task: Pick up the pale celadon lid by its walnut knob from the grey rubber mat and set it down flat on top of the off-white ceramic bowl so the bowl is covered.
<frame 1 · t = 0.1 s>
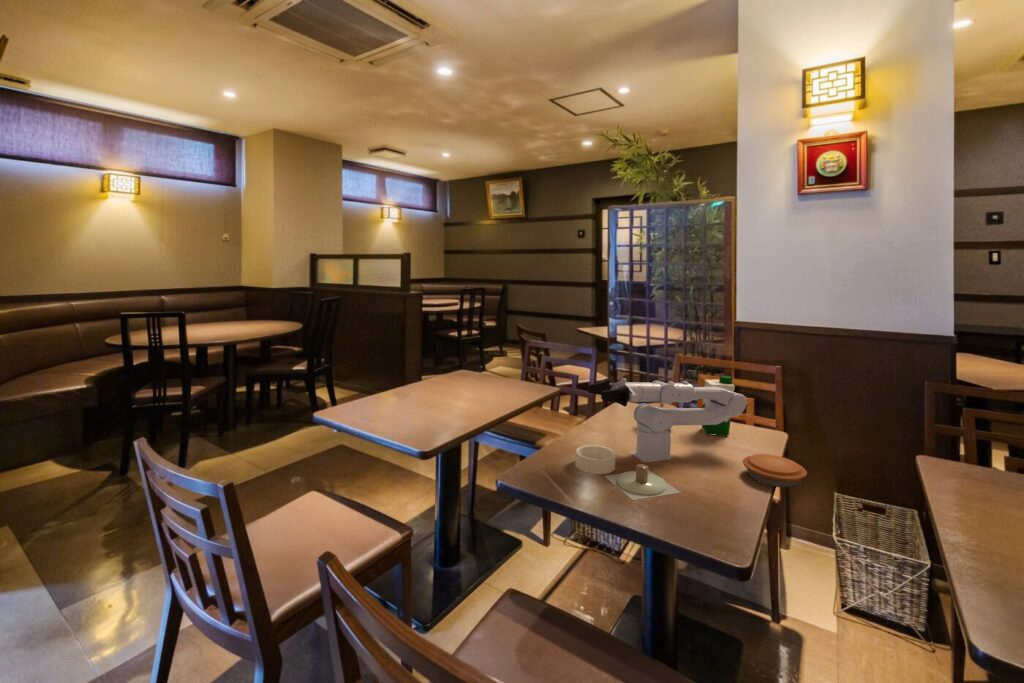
hand: (595, 392, 135), 22 cm above the table, tool horizontal, fingers open, 7 cm apart
pie: (772, 479, 132), on the table
lid: (641, 484, 126), point 1 cm above the table, touching mat
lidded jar: (660, 428, 172), on the table
milk carton: (714, 432, 168), on the table
mat: (641, 486, 126), on the table
bowl: (595, 467, 137), on the table
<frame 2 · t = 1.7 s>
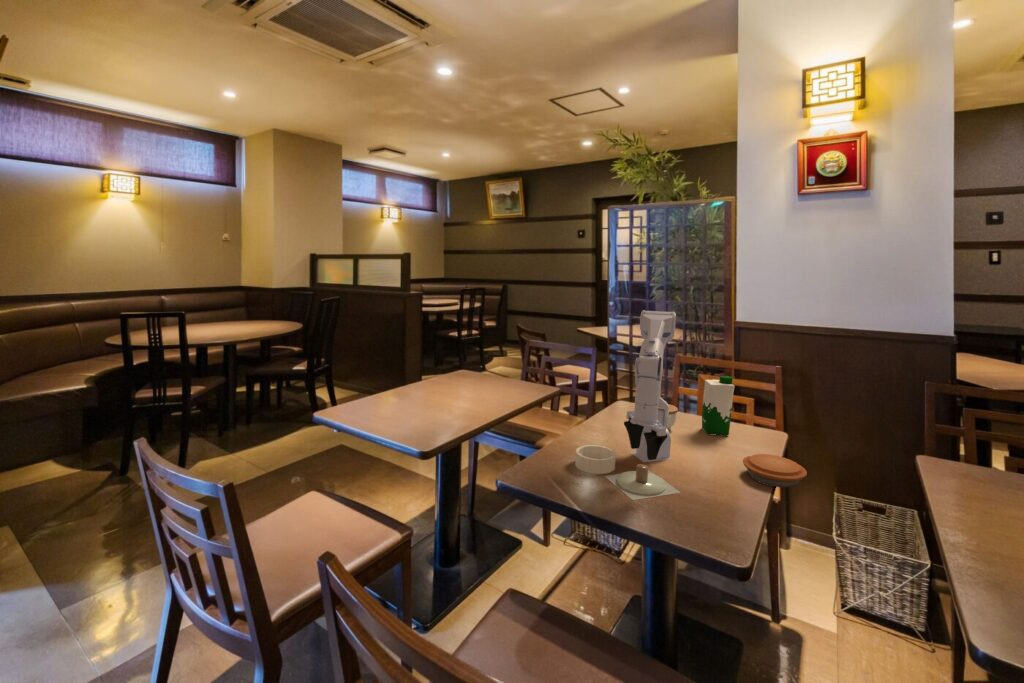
hand: (643, 453, 124), 9 cm above the table, tool pointing down, fingers open, 7 cm apart
nothing on the table moved.
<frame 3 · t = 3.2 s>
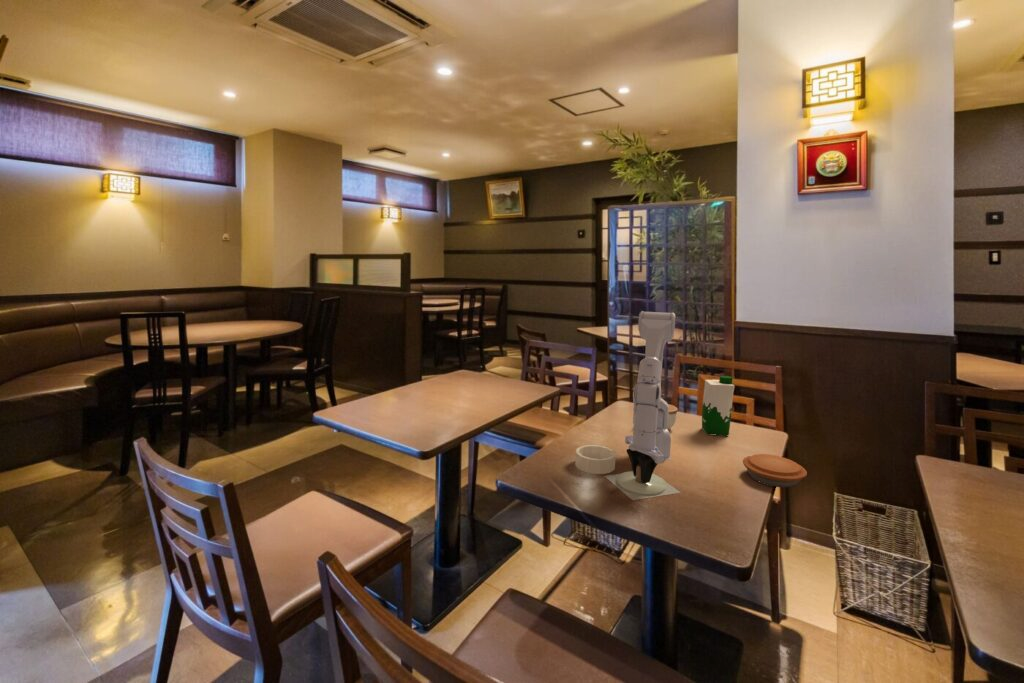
hand: (641, 478, 125), 2 cm above the table, tool pointing down, fingers closed on lid, 3 cm apart
lid: (641, 483, 126), point 1 cm above the table, touching gripper, mat
everything else where it was.
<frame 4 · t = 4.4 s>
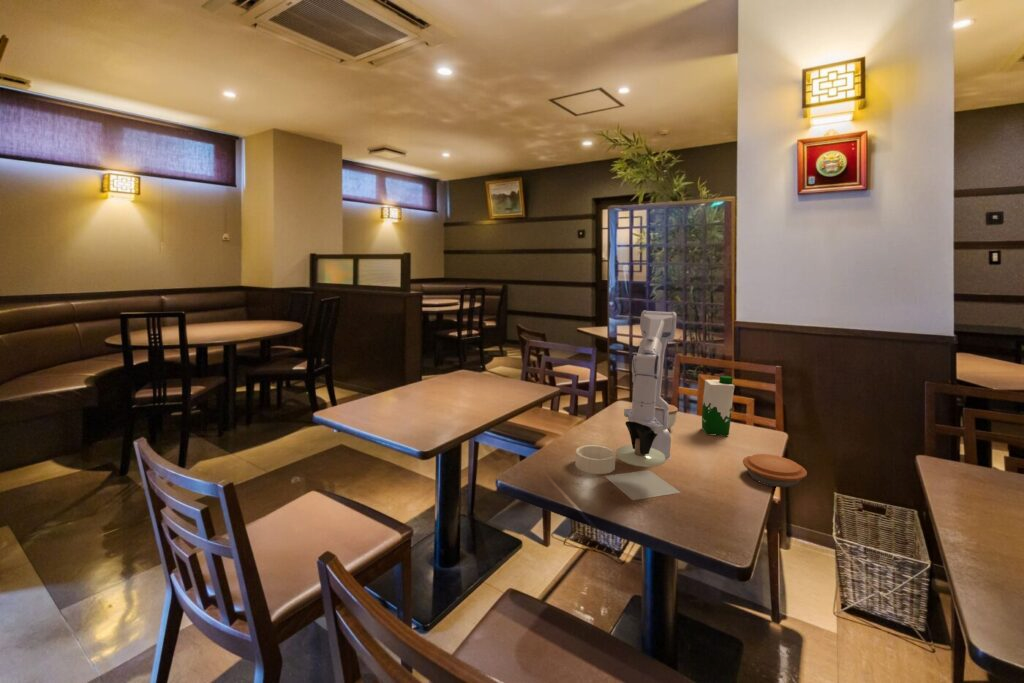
hand: (640, 451, 125), 9 cm above the table, tool pointing down, fingers closed on lid, 3 cm apart
lid: (640, 456, 125), point 8 cm above the table, touching gripper
everything else where it was.
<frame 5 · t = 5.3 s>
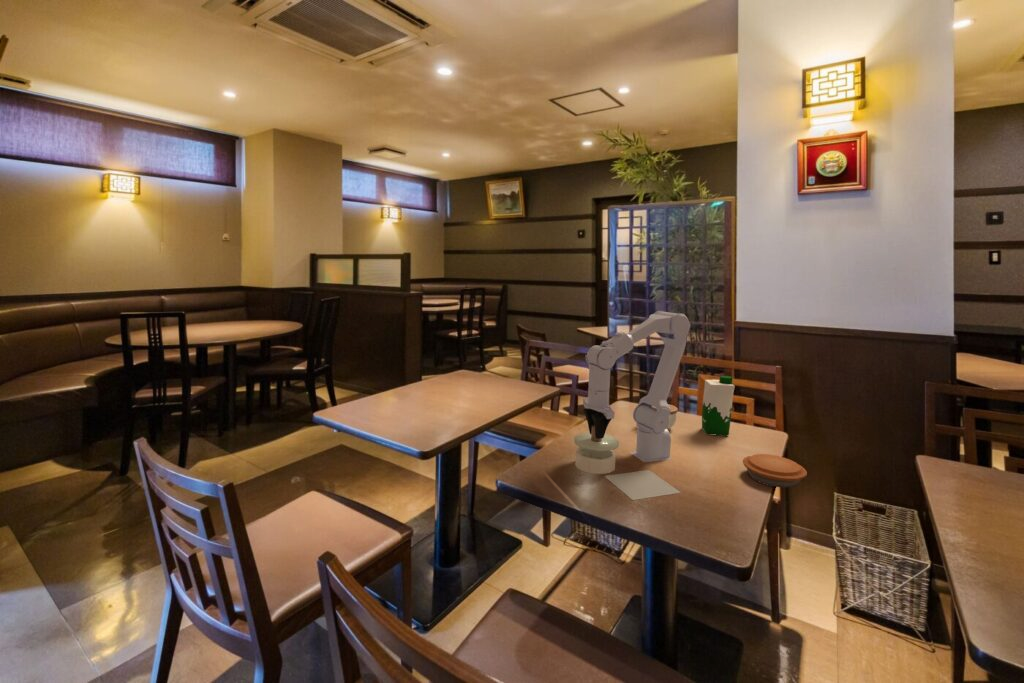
hand: (596, 435, 135), 9 cm above the table, tool pointing down, fingers closed on lid, 3 cm apart
lid: (596, 442, 136), point 7 cm above the table, touching gripper
everything else where it was.
when the fingers open (7 cm above the table, at t = 6.0 s): lid stays where it is, resting on bowl.
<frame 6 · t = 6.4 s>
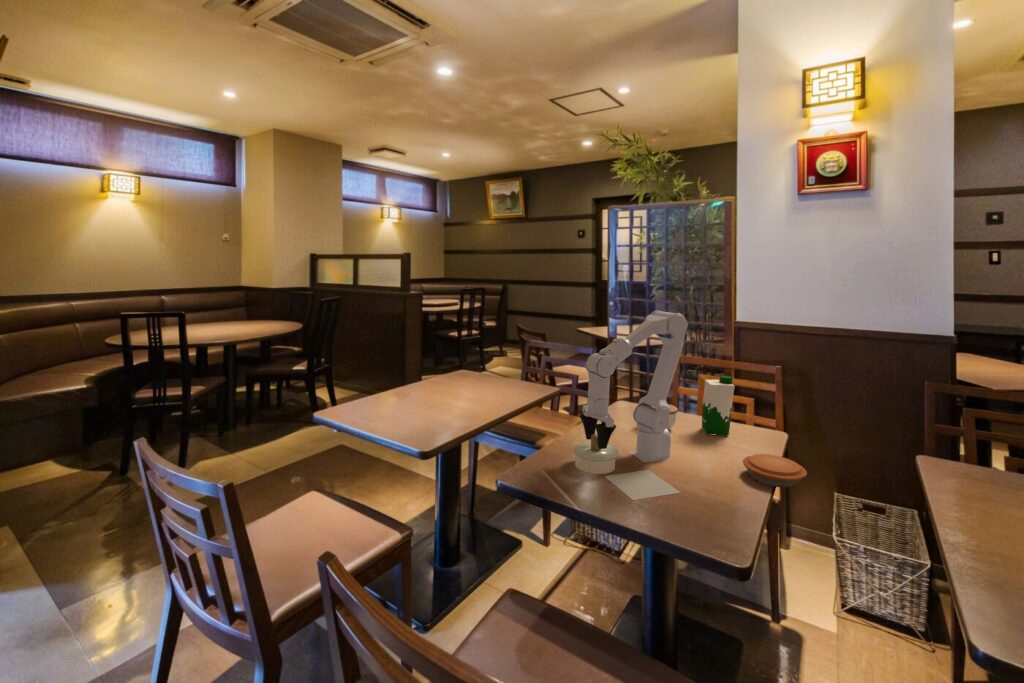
hand: (596, 443, 136), 7 cm above the table, tool pointing down, fingers open, 7 cm apart
lid: (595, 452, 136), point 4 cm above the table, touching bowl
everything else where it was.
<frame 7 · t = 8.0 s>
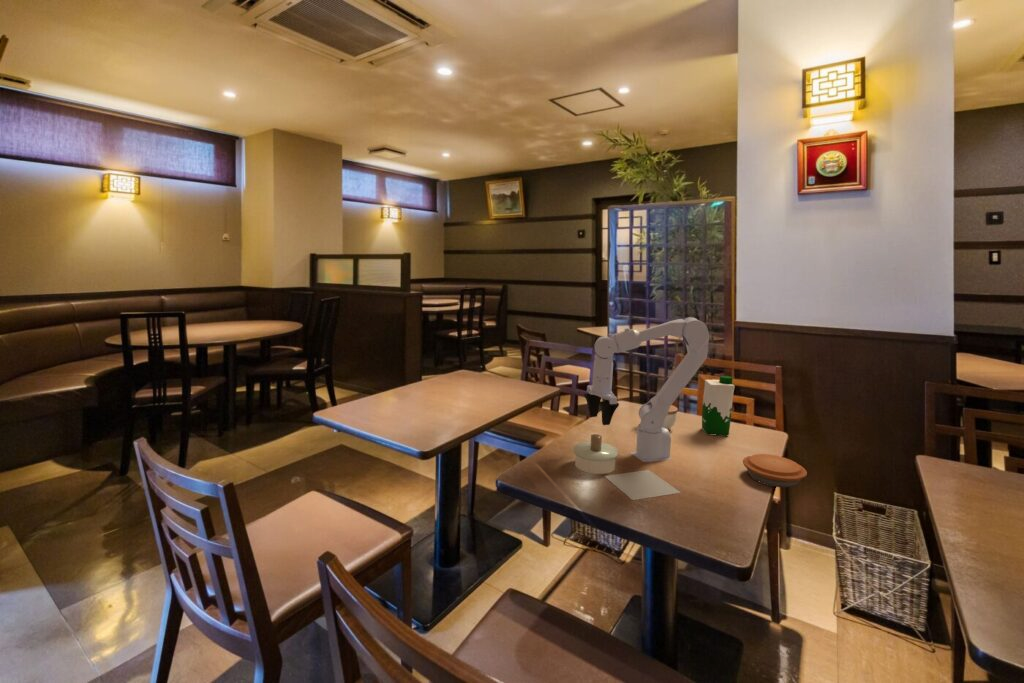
hand: (599, 420, 146), 10 cm above the table, tool pointing down, fingers open, 7 cm apart
nothing on the table moved.
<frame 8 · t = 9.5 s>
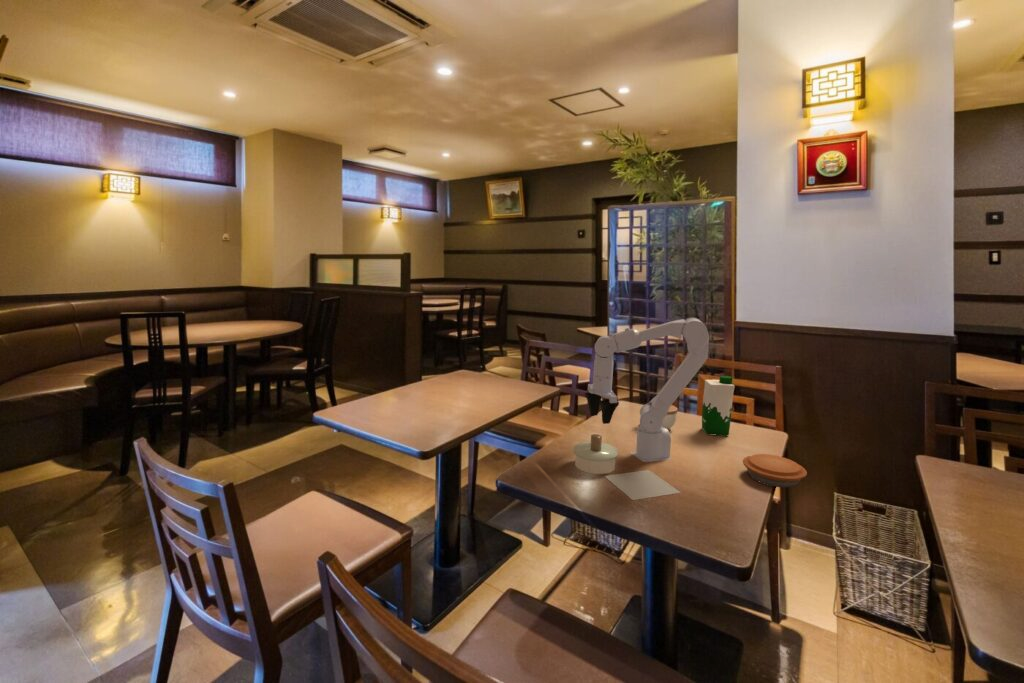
hand: (599, 419, 147), 10 cm above the table, tool pointing down, fingers open, 7 cm apart
nothing on the table moved.
at the end: lid 0.0 cm off-centre on the bowl, point 4.5 cm above the bowl's base; lid tilted 0°; the gripper is holding nothing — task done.
